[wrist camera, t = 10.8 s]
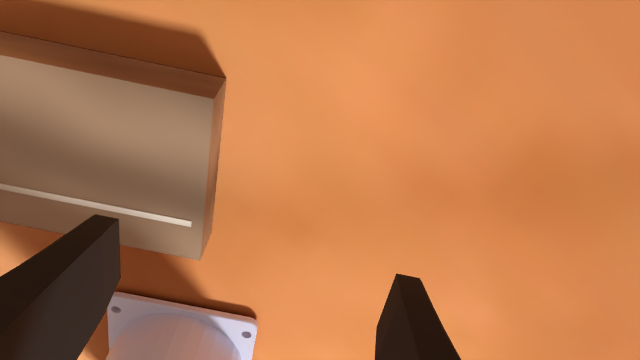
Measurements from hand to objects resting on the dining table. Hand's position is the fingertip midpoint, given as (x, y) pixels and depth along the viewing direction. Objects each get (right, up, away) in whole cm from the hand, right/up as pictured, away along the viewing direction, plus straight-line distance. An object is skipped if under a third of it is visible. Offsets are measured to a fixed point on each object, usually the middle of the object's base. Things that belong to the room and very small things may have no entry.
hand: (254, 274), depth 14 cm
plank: (-14, +5, +9) cm, 17 cm away
